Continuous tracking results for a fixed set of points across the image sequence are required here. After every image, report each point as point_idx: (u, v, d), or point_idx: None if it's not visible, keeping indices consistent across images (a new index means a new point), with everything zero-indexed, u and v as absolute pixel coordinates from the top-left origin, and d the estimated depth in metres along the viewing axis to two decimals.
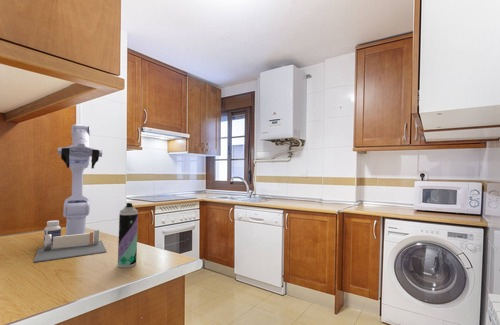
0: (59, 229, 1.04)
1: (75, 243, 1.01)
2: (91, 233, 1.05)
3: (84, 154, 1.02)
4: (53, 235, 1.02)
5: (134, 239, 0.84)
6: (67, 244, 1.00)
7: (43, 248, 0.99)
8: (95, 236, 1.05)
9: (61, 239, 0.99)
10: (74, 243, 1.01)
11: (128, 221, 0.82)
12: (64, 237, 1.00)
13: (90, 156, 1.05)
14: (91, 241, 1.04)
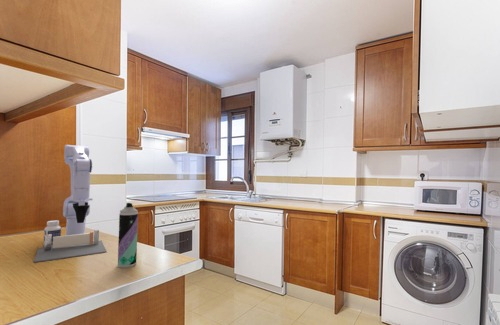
0: (59, 229, 1.04)
1: (75, 243, 1.01)
2: (91, 233, 1.05)
3: None
4: (53, 235, 1.02)
5: (134, 239, 0.84)
6: (67, 244, 1.00)
7: (43, 248, 0.99)
8: (95, 236, 1.05)
9: (61, 239, 0.99)
10: (74, 243, 1.01)
11: (128, 221, 0.82)
12: (64, 237, 1.00)
13: None
14: (91, 241, 1.04)
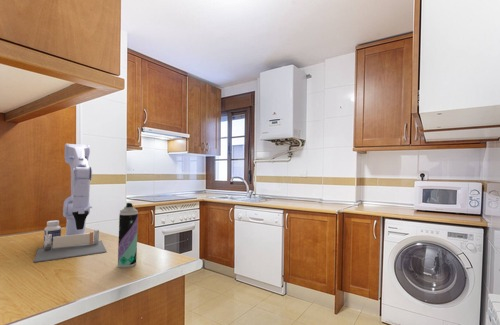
0: (59, 229, 1.04)
1: (75, 243, 1.01)
2: (91, 233, 1.05)
3: None
4: (53, 235, 1.02)
5: (134, 239, 0.84)
6: (67, 244, 1.00)
7: (43, 248, 0.99)
8: (95, 236, 1.05)
9: (61, 239, 0.99)
10: (74, 243, 1.01)
11: (128, 221, 0.82)
12: (64, 237, 1.00)
13: None
14: (91, 241, 1.04)
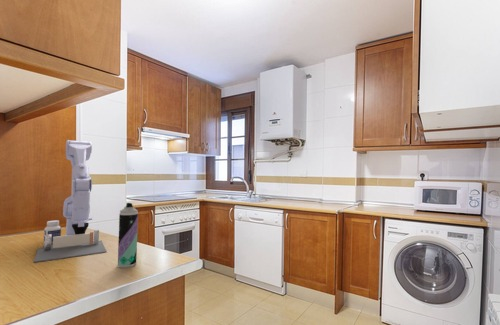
0: (59, 229, 1.04)
1: (75, 243, 1.01)
2: (91, 233, 1.05)
3: None
4: (53, 235, 1.02)
5: (134, 239, 0.84)
6: (67, 244, 1.00)
7: (43, 248, 0.99)
8: (95, 236, 1.05)
9: (61, 239, 0.99)
10: (74, 243, 1.01)
11: (128, 221, 0.82)
12: (64, 237, 1.00)
13: None
14: (91, 241, 1.04)
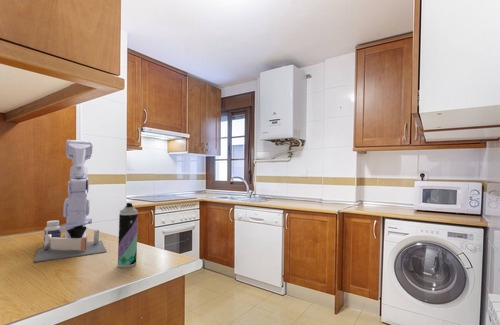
0: None
1: (68, 247, 0.96)
2: (82, 239, 0.96)
3: (78, 226, 0.99)
4: (53, 235, 1.02)
5: (134, 239, 0.84)
6: (62, 247, 0.96)
7: (43, 248, 0.99)
8: (95, 236, 1.05)
9: (57, 241, 0.96)
10: (68, 247, 0.96)
11: (128, 221, 0.82)
12: (60, 239, 0.96)
13: None
14: (82, 248, 0.96)
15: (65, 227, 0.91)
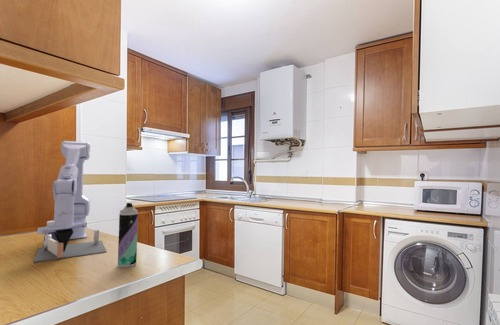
0: None
1: (53, 251, 0.91)
2: (58, 244, 0.88)
3: None
4: (53, 235, 1.02)
5: (134, 239, 0.84)
6: (51, 250, 0.93)
7: (43, 248, 0.99)
8: (95, 236, 1.05)
9: (49, 242, 0.94)
10: (53, 251, 0.91)
11: (128, 221, 0.82)
12: (50, 241, 0.94)
13: None
14: (57, 254, 0.88)
15: (40, 230, 0.86)
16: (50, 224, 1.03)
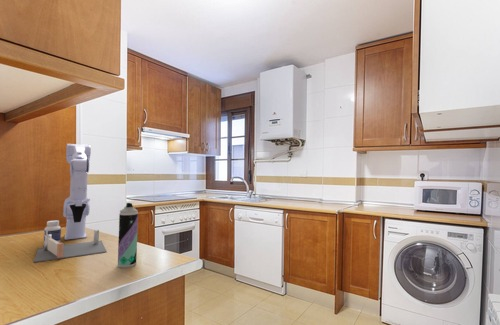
0: (59, 229, 1.04)
1: (53, 251, 0.91)
2: (57, 244, 0.88)
3: None
4: (53, 235, 1.02)
5: (134, 239, 0.84)
6: (51, 250, 0.93)
7: (43, 248, 0.99)
8: (95, 236, 1.05)
9: (49, 242, 0.94)
10: (53, 251, 0.91)
11: (128, 221, 0.82)
12: (50, 241, 0.94)
13: None
14: (57, 254, 0.88)
15: (81, 202, 1.00)
16: (50, 224, 1.03)
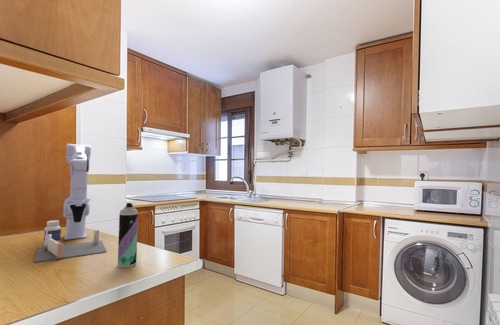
0: (59, 229, 1.04)
1: (53, 251, 0.91)
2: (57, 244, 0.88)
3: None
4: (53, 235, 1.02)
5: (134, 239, 0.84)
6: (51, 250, 0.93)
7: (43, 248, 0.99)
8: (95, 236, 1.05)
9: (49, 242, 0.94)
10: (53, 251, 0.91)
11: (128, 221, 0.82)
12: (50, 241, 0.94)
13: None
14: (57, 254, 0.88)
15: (81, 202, 1.00)
16: (50, 224, 1.03)
